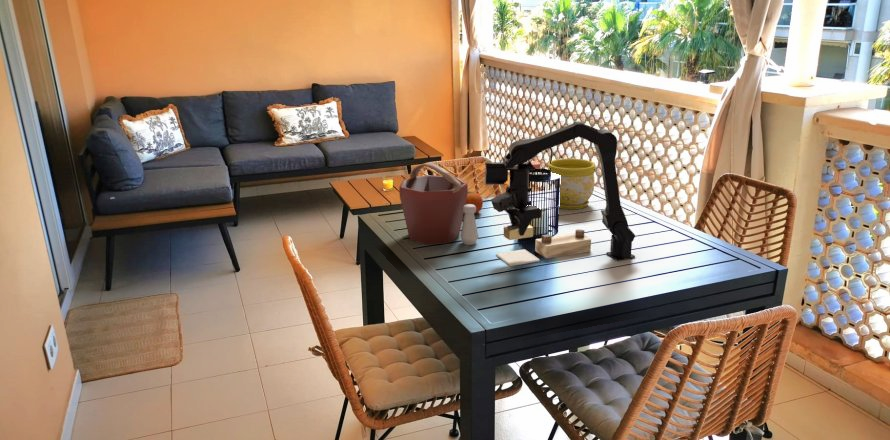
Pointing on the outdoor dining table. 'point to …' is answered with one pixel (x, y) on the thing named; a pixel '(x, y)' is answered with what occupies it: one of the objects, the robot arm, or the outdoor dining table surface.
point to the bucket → (433, 205)
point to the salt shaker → (469, 225)
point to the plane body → (563, 244)
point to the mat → (517, 257)
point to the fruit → (474, 200)
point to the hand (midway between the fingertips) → (518, 233)
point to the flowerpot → (574, 181)
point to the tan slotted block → (517, 232)
